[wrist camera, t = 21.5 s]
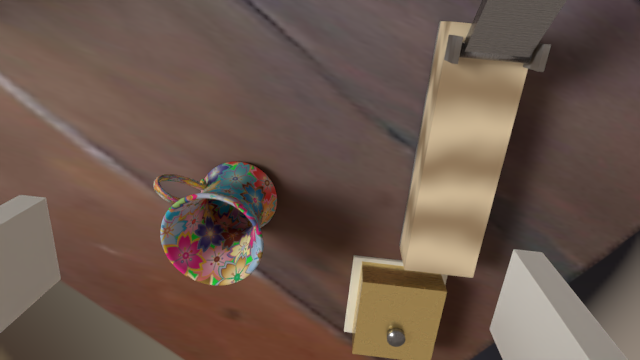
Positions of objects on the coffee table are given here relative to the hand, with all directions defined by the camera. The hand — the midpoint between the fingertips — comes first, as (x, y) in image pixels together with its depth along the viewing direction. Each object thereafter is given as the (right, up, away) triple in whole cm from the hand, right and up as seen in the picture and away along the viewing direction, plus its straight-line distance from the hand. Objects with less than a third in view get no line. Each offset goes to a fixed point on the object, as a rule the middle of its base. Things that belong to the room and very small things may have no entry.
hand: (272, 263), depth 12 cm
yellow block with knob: (+10, -12, +38) cm, 41 cm away
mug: (-9, +2, +34) cm, 36 cm away
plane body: (+15, +6, +31) cm, 35 cm away
